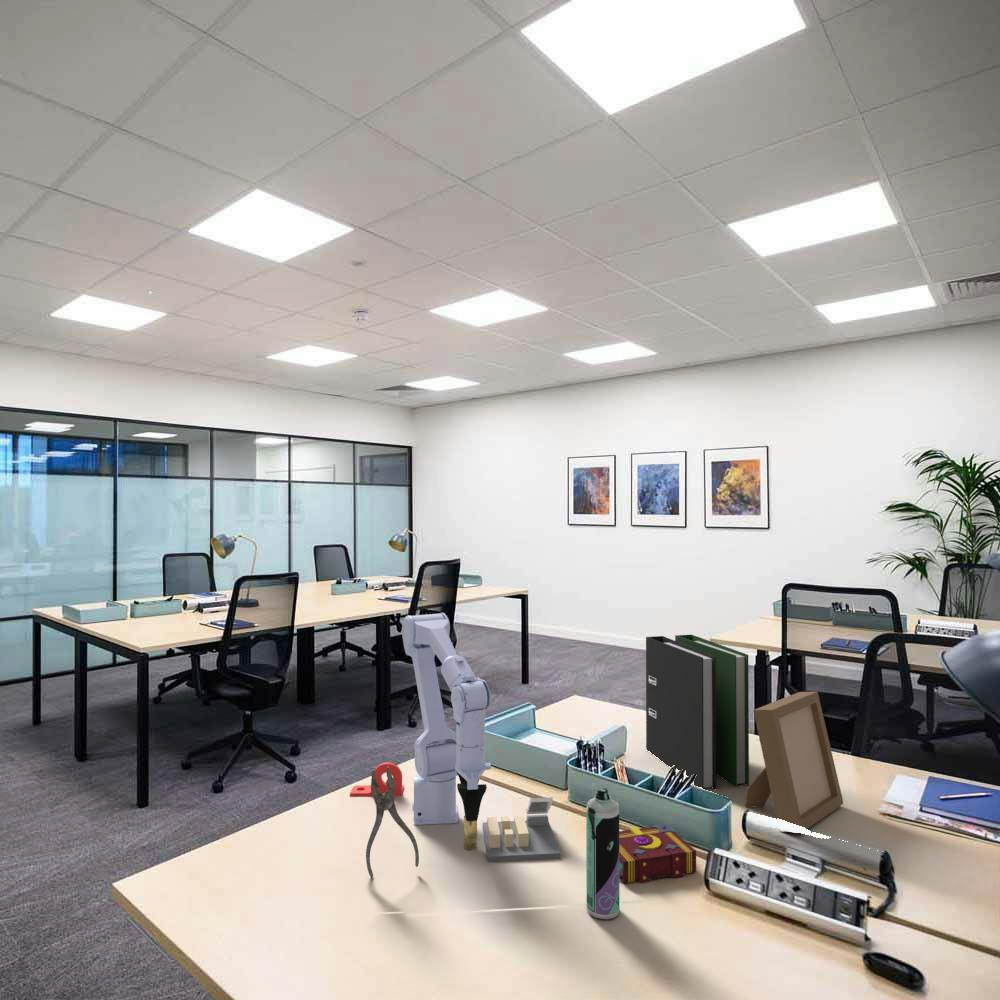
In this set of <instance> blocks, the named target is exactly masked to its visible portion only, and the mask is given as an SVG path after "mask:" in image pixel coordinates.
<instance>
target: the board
mask: <svg viewBox="0 0 1000 1000" xmlns="http://www.w3.org/2000/svg"><path fill="white" fill-rule="evenodd" d="M481 825H482V833H483V838H484V839H483V840H484V844H485V845H484V847H485V853H486V859H487V862H488V863H490V862H491V863H492V862H493V863H494V862H495V863H496V862H511V861H534V860H535V861H536V860H551V859H561V850H560V849H559V846H558V843H557V840H556V838H555V835H554V832H553V830H552V827H551V824H550V821H549V816H548V814H526V820H525V816H524V815H513V820H511V818H510V816H501V821H498V818H497V816H493V817H491V816H488V817H486V822H485V821H483V822H482V824H481Z"/></svg>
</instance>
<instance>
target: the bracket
mask: <svg viewBox="0 0 1000 1000" xmlns="http://www.w3.org/2000/svg"><path fill="white" fill-rule="evenodd" d="M387 766H389V769H390V772H391V774H392V777H393V780H394V782H395V789H394V797H402V796H403V792H404V789H405V785H404V784H403V772H402V770H401V769H400V767H399V766H398V765H397V764H396V763H393V762H387V761H386V762H382V763H380V764H379V765H378V766H376V768H375V769H374V772H375V775H376V781H377V783H379V788H378V789H377V790H378V791H379V792H382V793H385V791H386V790H388V788H389V787H388V786H386V781H384V779H383V777H382V776H383V774H387ZM349 797H373V794H372V791H371V784H370V785H366V784H365V785H364V784H363V785H362V784H361V785H354V786H353V787H352V789H351V791H350V792H349Z"/></svg>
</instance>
